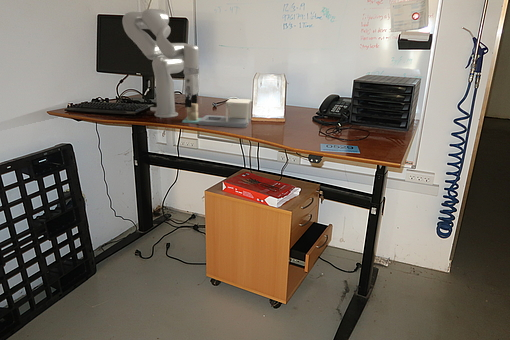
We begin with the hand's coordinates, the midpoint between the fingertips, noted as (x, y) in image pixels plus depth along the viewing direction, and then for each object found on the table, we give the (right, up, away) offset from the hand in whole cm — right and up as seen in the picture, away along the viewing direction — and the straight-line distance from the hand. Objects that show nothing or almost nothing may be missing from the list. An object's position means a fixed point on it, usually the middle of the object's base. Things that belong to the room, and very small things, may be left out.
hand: (191, 105), depth 196 cm
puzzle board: (+18, -9, 0) cm, 20 cm away
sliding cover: (+24, -8, -1) cm, 26 cm away
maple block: (+1, -7, +2) cm, 8 cm away
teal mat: (+1, -8, +2) cm, 8 cm away
